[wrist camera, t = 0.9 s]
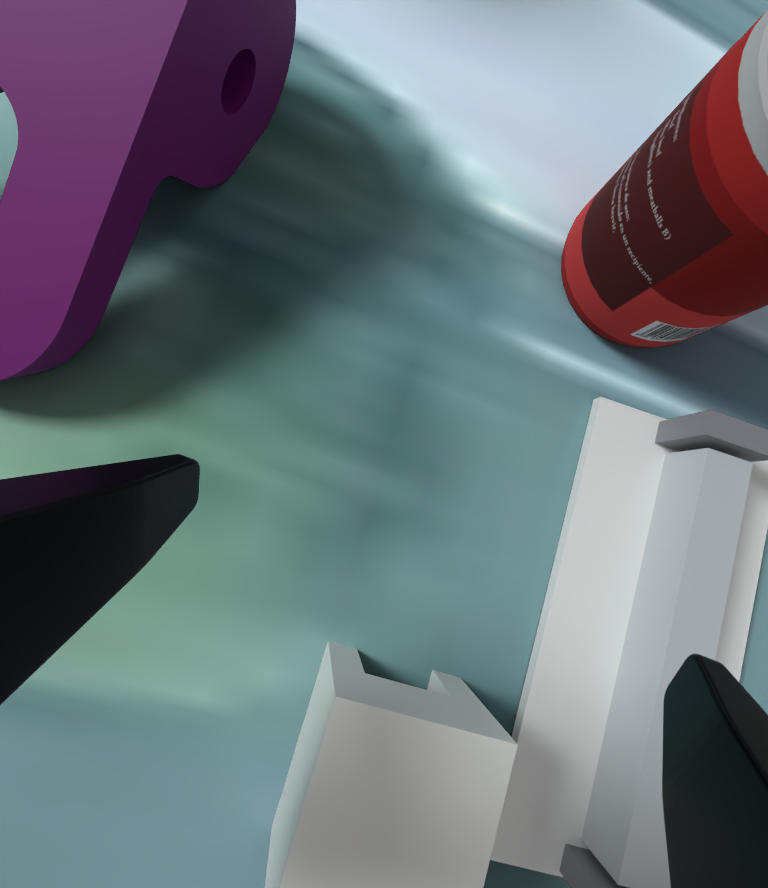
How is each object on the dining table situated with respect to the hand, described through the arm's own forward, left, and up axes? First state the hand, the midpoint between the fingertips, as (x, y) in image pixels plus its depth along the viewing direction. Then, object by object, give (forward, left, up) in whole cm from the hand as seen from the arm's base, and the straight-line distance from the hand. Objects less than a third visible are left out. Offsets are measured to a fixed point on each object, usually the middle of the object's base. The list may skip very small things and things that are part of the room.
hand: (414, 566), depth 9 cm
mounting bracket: (+10, +15, -13) cm, 22 cm away
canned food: (+15, -9, -13) cm, 22 cm away
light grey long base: (-1, -13, -12) cm, 18 cm away
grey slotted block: (-8, -3, -12) cm, 15 cm away
